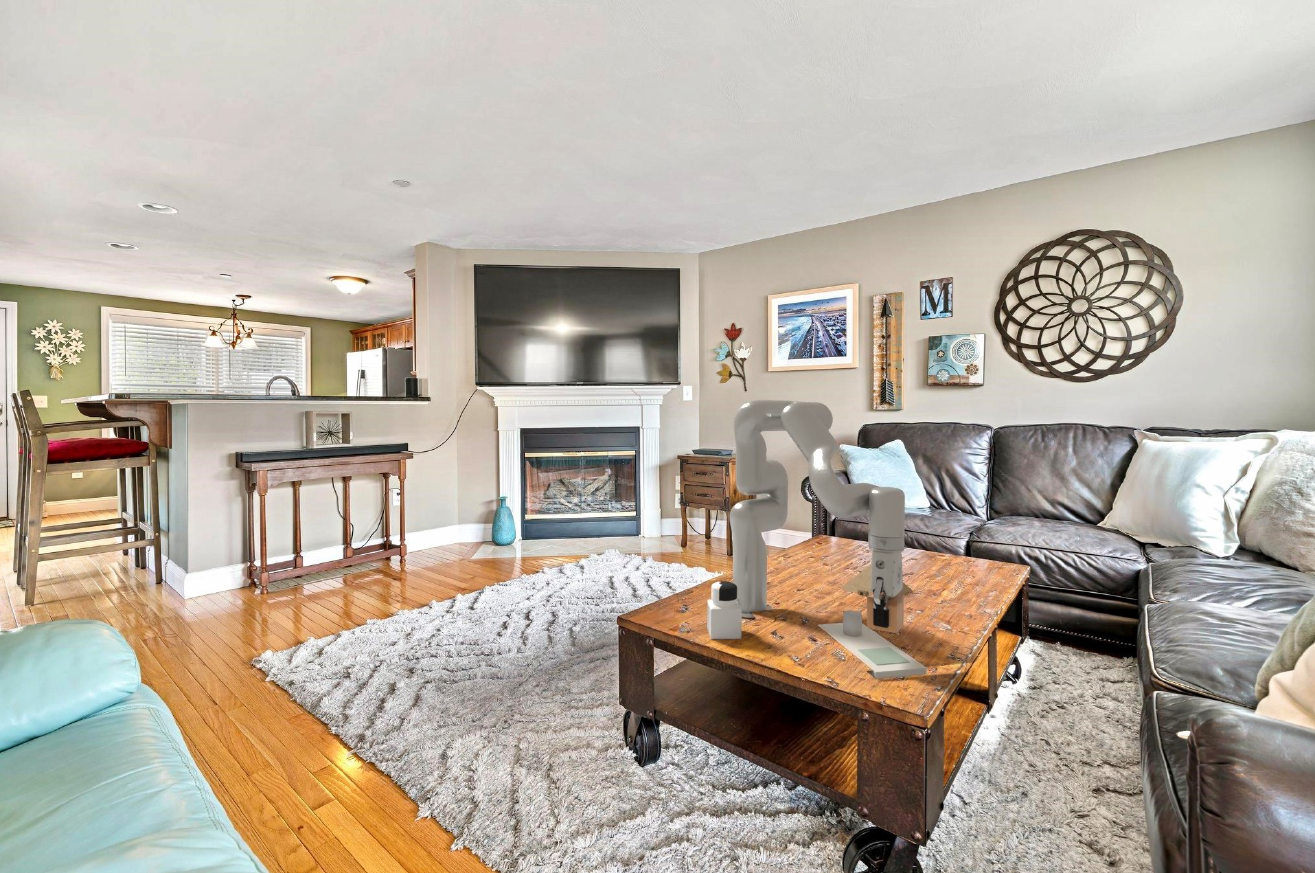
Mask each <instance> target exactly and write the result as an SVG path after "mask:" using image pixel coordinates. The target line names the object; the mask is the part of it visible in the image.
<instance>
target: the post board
mask: <svg viewBox="0 0 1315 873" xmlns="http://www.w3.org/2000/svg"><path fill="white" fill-rule="evenodd" d="M842 616H843V617H842V618H843V619H842V620H843V621H842V622H839V623H837V622H836V623H823V624H821V623H820V624H817V626H818V628H819V627H820V628H821V629H822V630H823V631H824V632H826V633H827V634H828V635H829V636H831V637H832V638H833V639H834V640H835V641H837V643H839V644H840V645H842V647H844V648H845V649H846V650H848V651H849V652H850V653H851V654H852V655H854V656H855V658H858V659H859V660H860V661H861V662H863V663H864V664H865V665H866V666H867V667H868V668H870V669H871V670H866V672H867V674H869V675H870V676H871V677H872V678H874V679H875V680H877V679H878V680H879V679H891V678H890V677H892V678H902V677H904V678H905V677H911V676H910V675H916V676H926V675H927V669H928V668H927V667H926V666H925V665H924V664H922V663H920V662H919V661H917V660H916V659H914V658H913V657H912V656H910V655H909V654H907V653H906V652H904V651H903V650H902V649H900V648H899V647H897V645H896V646H895V645H894V644H893V643H891V642H890V641H888V640H887V639H886V638H884V637H882V636H881V635H880V634H878V632H875V631H874V629H872V628H867V625H865V623H863V614H862V612H860V611H857V610H851V609H850V610H844V611H843V614H842ZM925 674H926V675H925Z"/></svg>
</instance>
